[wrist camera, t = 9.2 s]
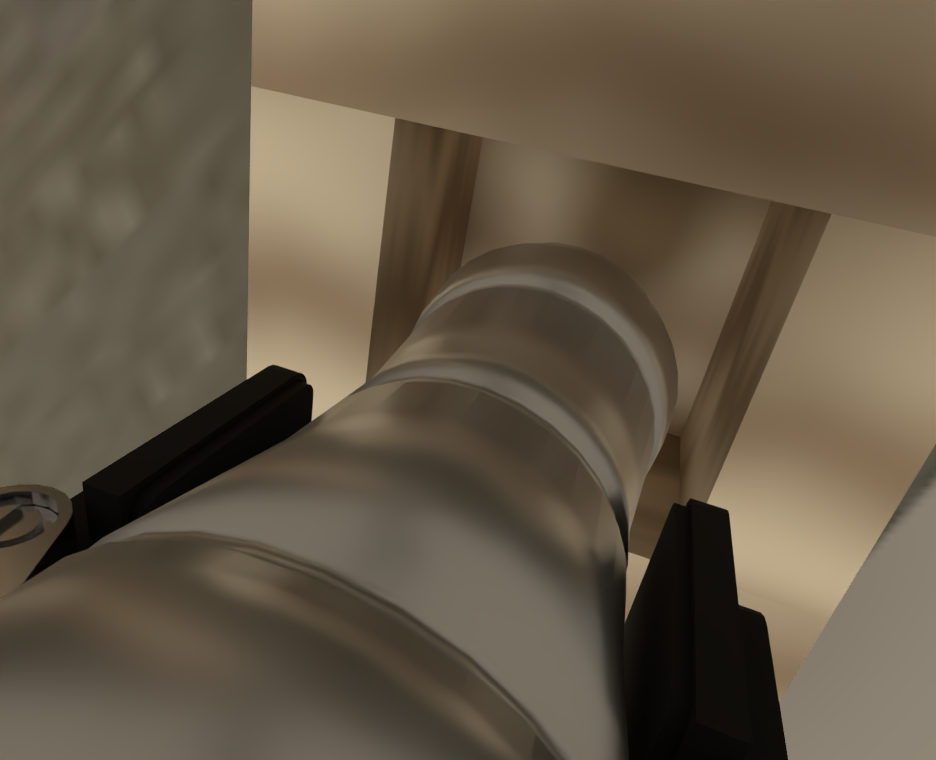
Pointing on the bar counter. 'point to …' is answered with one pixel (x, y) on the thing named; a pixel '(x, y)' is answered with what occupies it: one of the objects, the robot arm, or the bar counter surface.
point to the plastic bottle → (382, 555)
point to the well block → (634, 232)
